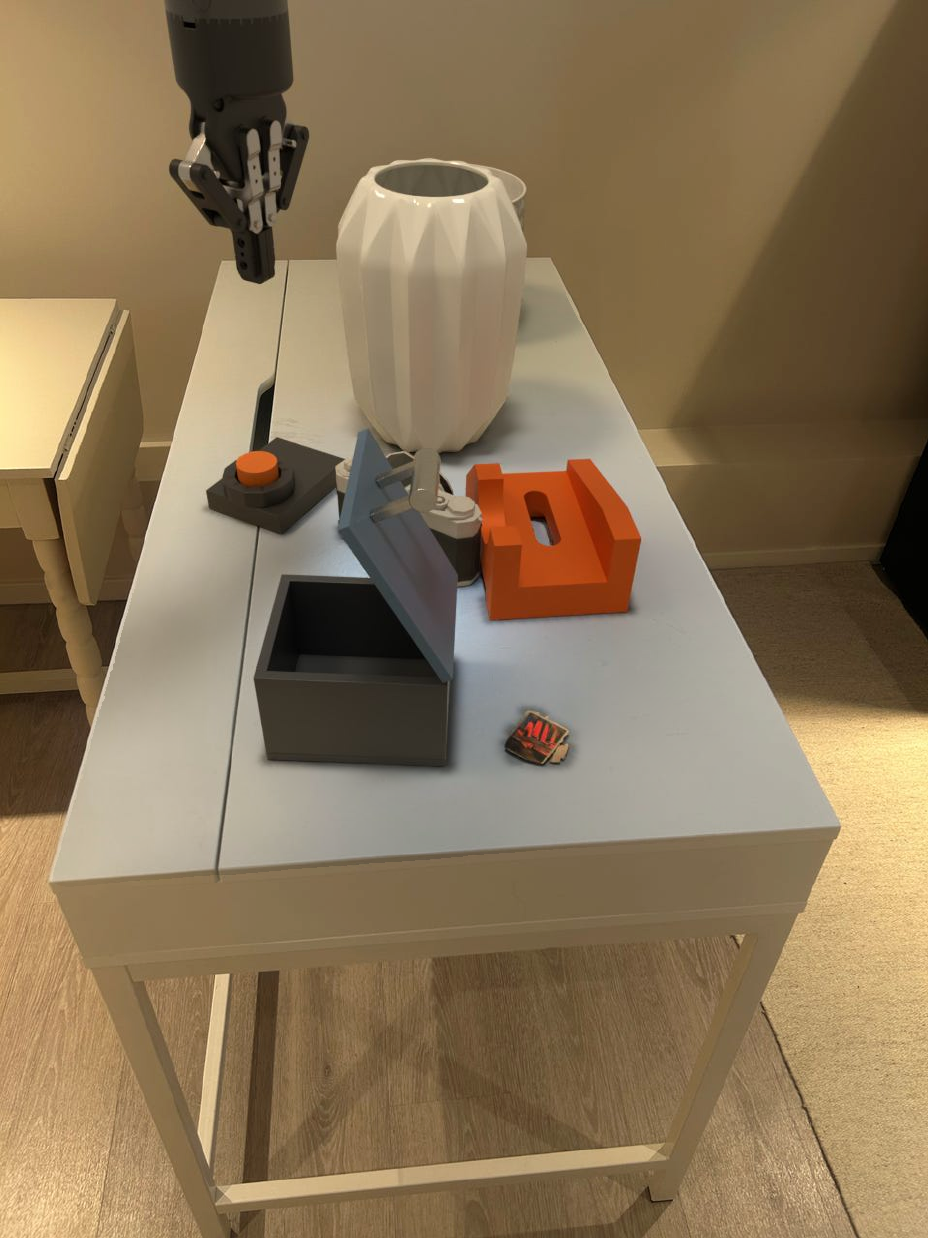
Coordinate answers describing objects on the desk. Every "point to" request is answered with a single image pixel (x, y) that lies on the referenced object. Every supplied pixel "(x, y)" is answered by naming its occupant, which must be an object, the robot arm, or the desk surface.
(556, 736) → the matchbox
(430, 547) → the lid
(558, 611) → the orange slotted stand
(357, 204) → the vase
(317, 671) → the open box
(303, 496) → the control block
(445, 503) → the camera
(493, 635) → the desk surface
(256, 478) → the button
